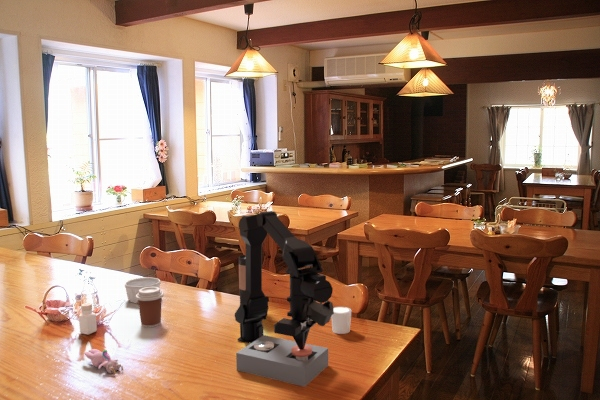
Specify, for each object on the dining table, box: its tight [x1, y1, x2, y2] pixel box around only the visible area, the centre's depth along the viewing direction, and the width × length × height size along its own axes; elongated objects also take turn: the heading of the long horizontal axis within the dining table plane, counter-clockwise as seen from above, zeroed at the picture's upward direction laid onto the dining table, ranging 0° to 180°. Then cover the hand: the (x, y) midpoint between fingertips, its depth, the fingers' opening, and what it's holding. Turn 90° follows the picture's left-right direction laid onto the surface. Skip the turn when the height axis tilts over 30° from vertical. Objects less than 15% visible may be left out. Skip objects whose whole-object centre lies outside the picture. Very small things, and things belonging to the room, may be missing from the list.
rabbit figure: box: [83, 348, 124, 376], centre depth 152 cm, size 6×6×15 cm
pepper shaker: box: [78, 302, 98, 336], centre depth 178 cm, size 4×4×10 cm
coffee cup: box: [135, 287, 165, 328], centre depth 185 cm, size 9×9×12 cm
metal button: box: [254, 341, 274, 353], centre depth 153 cm, size 6×6×6 cm
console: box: [235, 334, 329, 388], centre depth 150 cm, size 21×14×5 cm, turn 61°
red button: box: [291, 345, 312, 361], centre depth 147 cm, size 6×6×6 cm
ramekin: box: [124, 276, 162, 304], centre depth 212 cm, size 13×13×7 cm
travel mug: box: [238, 254, 246, 299], centre depth 196 cm, size 8×8×20 cm
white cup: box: [330, 306, 352, 335], centre depth 176 cm, size 7×7×7 cm
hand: (301, 349), depth 147 cm, fingers closed, pressing on red button
